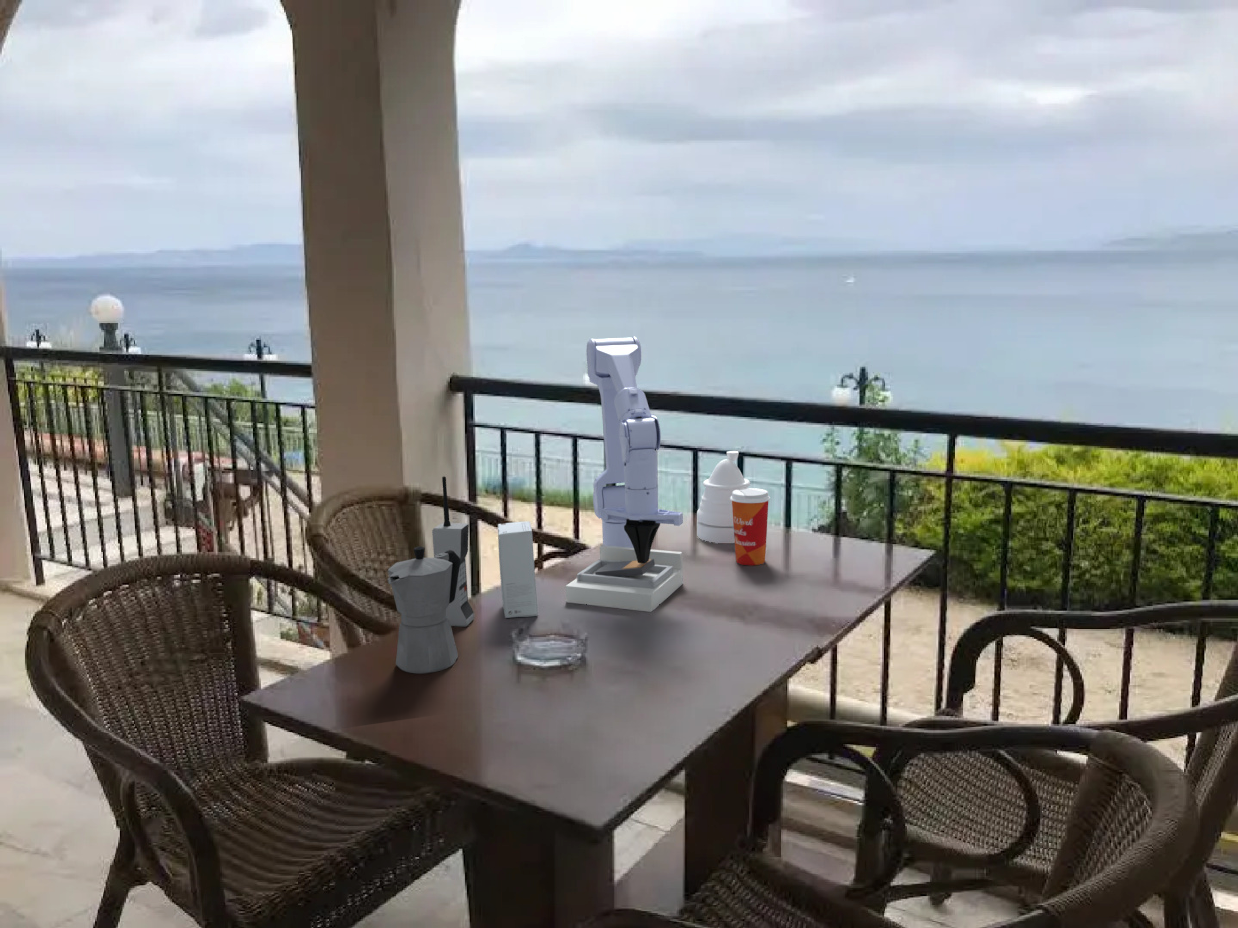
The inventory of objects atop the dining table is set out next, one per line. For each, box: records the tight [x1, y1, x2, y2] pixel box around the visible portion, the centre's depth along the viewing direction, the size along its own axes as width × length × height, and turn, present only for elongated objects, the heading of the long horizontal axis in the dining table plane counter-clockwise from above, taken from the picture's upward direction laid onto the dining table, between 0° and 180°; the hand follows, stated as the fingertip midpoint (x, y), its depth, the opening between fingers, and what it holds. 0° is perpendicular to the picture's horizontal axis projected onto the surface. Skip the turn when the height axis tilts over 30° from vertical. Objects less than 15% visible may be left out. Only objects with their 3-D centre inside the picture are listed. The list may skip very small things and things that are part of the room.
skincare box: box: [497, 520, 539, 619], centre depth 172 cm, size 8×6×15 cm
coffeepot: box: [387, 545, 460, 674], centre depth 150 cm, size 15×9×18 cm, turn 150°
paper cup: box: [730, 487, 771, 566], centre depth 195 cm, size 8×8×14 cm
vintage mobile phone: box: [431, 475, 475, 628], centre depth 165 cm, size 4×5×25 cm
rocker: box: [595, 559, 655, 577], centre depth 179 cm, size 6×9×1 cm, turn 67°
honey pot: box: [696, 450, 751, 544], centre depth 214 cm, size 13×13×18 cm
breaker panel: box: [565, 544, 684, 613], centre depth 180 cm, size 16×16×6 cm
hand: (643, 561), depth 178 cm, fingers closed
